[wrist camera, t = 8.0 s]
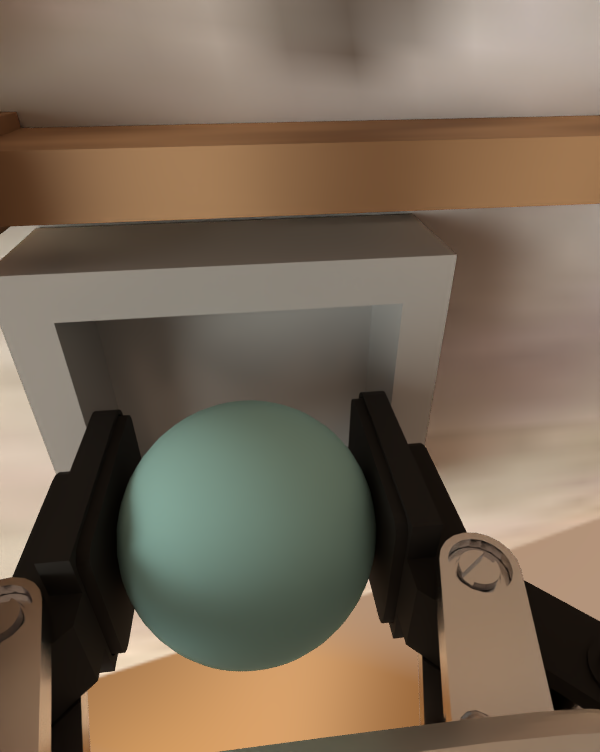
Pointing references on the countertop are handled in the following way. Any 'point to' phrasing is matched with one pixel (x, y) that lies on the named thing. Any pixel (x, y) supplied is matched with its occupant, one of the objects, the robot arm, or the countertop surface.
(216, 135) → the rail
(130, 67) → the countertop surface
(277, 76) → the countertop surface
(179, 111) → the countertop surface
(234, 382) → the dish
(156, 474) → the ball
